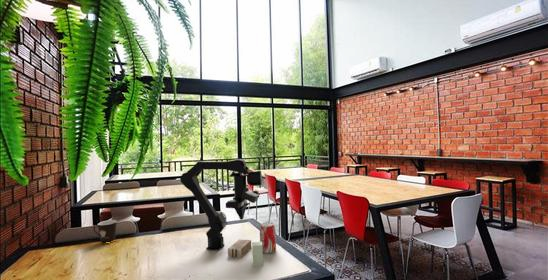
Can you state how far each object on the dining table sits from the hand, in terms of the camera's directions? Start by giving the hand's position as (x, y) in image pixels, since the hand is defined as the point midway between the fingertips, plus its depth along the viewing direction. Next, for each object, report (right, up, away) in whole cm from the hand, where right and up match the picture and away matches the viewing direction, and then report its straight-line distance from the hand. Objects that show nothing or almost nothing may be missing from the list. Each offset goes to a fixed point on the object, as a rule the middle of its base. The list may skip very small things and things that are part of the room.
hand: (241, 219), depth 133 cm
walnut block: (-2, -11, -12) cm, 16 cm away
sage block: (+9, -13, -19) cm, 24 cm away
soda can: (+13, -13, -7) cm, 19 cm away
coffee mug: (-73, -17, +17) cm, 77 cm away
